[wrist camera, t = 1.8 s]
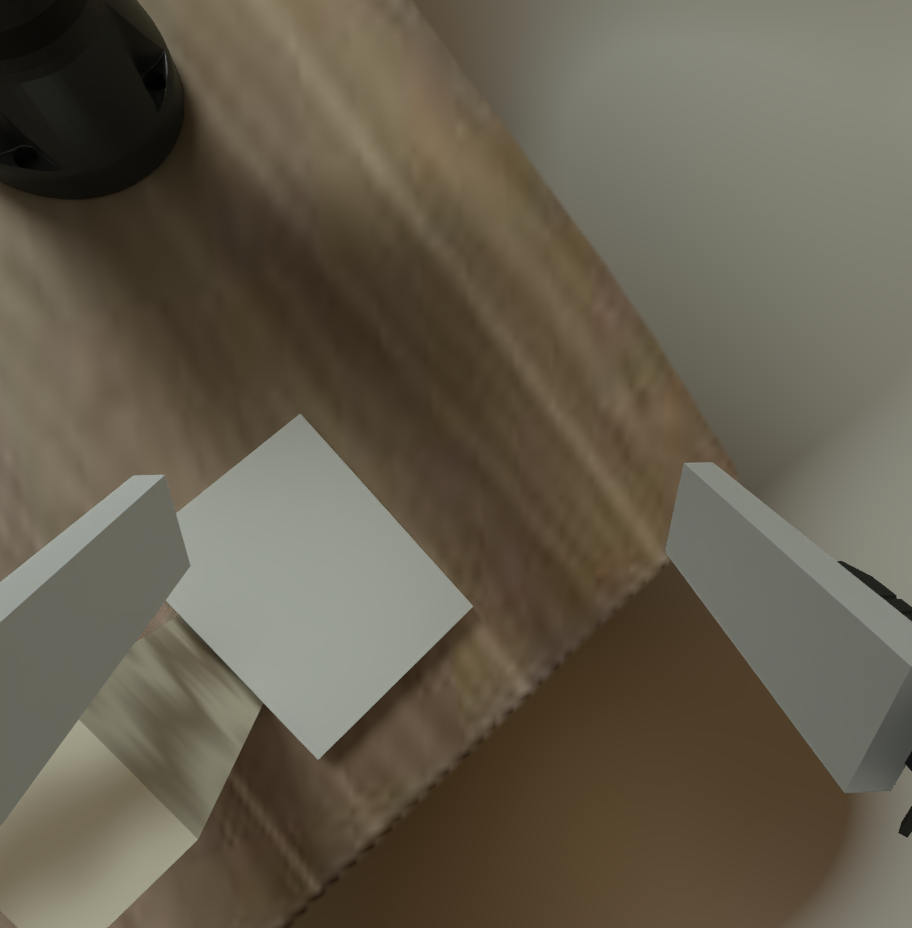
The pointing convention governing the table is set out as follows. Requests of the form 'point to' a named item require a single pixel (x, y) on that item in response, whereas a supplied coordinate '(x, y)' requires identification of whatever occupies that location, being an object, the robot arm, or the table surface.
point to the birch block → (126, 784)
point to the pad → (309, 585)
